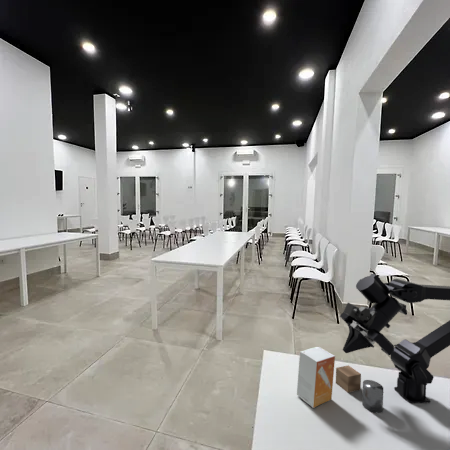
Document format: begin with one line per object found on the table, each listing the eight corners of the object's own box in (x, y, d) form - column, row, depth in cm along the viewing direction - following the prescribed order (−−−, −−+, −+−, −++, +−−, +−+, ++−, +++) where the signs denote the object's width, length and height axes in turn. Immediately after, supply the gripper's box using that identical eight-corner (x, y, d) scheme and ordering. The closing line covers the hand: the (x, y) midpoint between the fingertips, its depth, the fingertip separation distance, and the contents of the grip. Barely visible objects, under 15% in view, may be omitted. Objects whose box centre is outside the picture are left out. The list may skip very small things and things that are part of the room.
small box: (313, 409, 71) (316, 361, 70) (296, 394, 76) (299, 351, 76) (332, 400, 75) (335, 355, 74) (314, 387, 80) (317, 345, 80)
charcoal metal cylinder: (375, 400, 75) (375, 379, 75) (387, 413, 70) (387, 391, 70) (358, 400, 75) (359, 380, 75) (369, 413, 70) (370, 391, 70)
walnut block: (347, 380, 84) (348, 365, 84) (360, 390, 80) (361, 373, 80) (335, 383, 83) (336, 367, 83) (347, 393, 78) (348, 376, 78)
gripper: (345, 287, 85) (312, 320, 85) (383, 303, 67) (341, 347, 66) (368, 310, 86) (336, 344, 85) (412, 334, 67) (371, 377, 67)
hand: (344, 351), depth 76 cm, fingers closed
